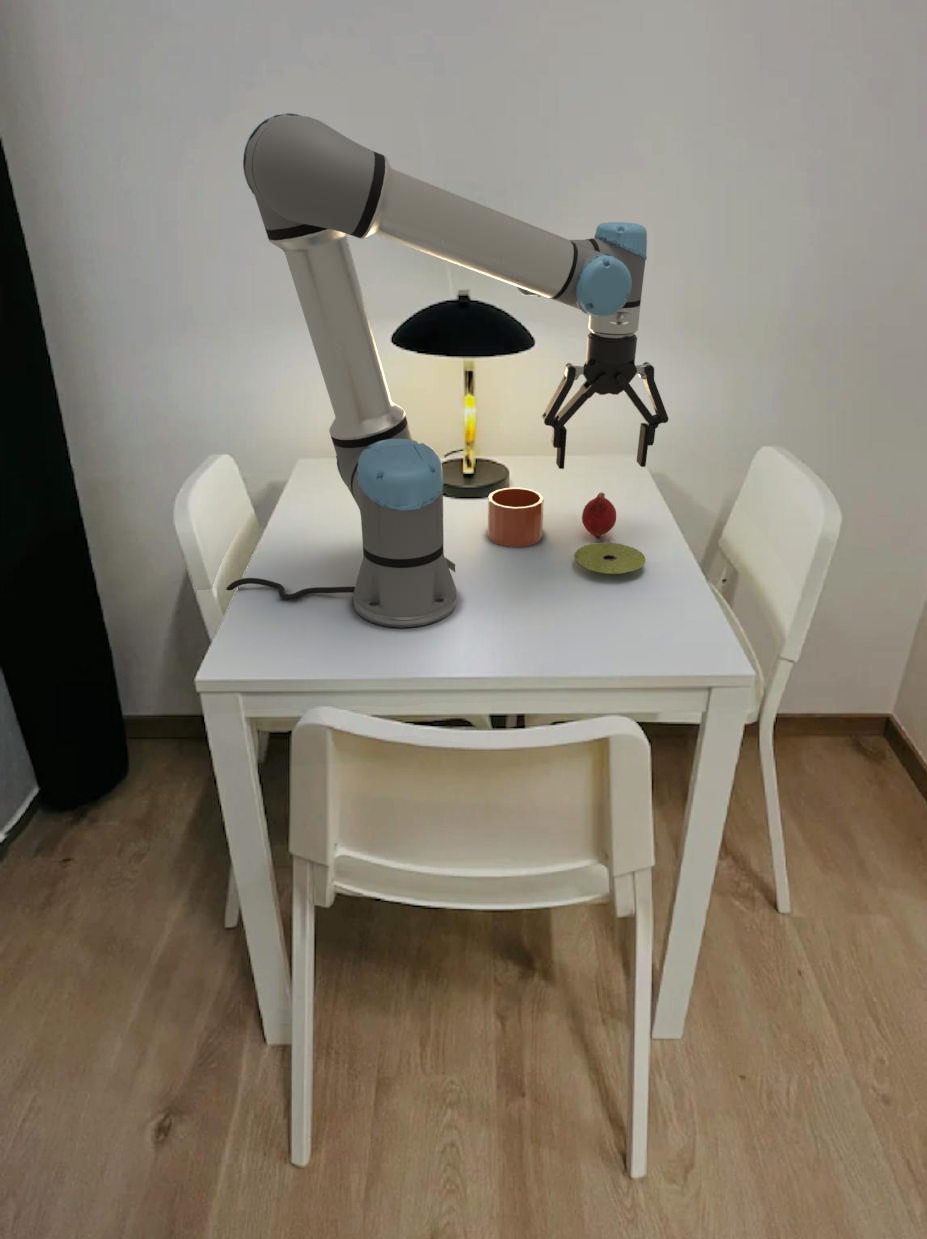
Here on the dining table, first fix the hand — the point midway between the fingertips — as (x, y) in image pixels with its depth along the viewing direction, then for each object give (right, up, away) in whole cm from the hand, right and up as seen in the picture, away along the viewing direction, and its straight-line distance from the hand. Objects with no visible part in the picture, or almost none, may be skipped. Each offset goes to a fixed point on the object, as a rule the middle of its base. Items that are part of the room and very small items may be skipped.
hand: (600, 465), depth 150 cm
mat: (+1, -17, -4) cm, 18 cm away
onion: (0, -11, +6) cm, 13 cm away
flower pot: (-14, -11, +7) cm, 19 cm away
